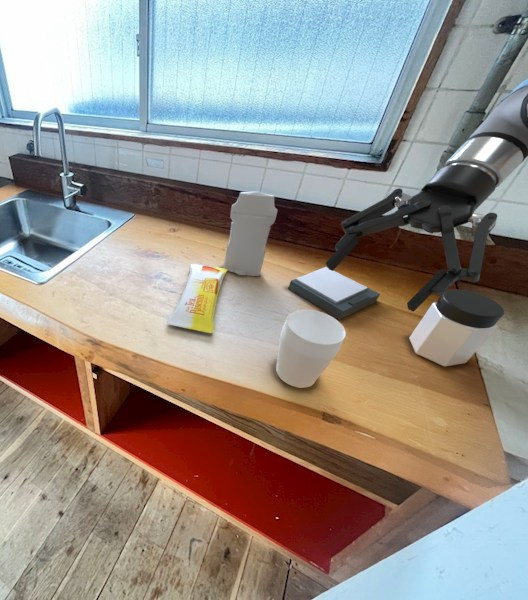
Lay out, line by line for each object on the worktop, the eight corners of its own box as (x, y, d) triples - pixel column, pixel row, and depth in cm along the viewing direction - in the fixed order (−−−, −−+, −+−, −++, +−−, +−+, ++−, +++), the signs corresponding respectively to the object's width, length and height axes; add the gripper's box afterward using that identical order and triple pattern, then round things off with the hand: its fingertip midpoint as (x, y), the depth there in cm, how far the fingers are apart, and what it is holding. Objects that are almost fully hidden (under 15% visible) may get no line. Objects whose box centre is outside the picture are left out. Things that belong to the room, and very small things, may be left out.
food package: (213, 329, 67) (166, 320, 70) (211, 337, 68) (166, 328, 71) (228, 265, 87) (191, 260, 90) (227, 272, 88) (191, 266, 91)
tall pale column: (262, 271, 88) (282, 191, 75) (260, 279, 85) (281, 197, 72) (223, 264, 92) (235, 186, 79) (220, 271, 89) (232, 192, 76)
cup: (328, 372, 60) (353, 323, 52) (311, 403, 55) (336, 354, 47) (280, 349, 65) (297, 302, 58) (260, 375, 60) (276, 327, 52)
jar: (436, 333, 67) (471, 286, 59) (476, 362, 60) (521, 313, 53) (397, 339, 66) (428, 291, 59) (434, 369, 59) (474, 320, 52)
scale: (375, 302, 76) (381, 291, 74) (339, 319, 71) (344, 309, 69) (322, 274, 86) (326, 264, 84) (288, 288, 81) (291, 278, 79)
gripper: (578, 218, 43) (453, 337, 47) (386, 173, 61) (308, 262, 65) (597, 185, 38) (455, 321, 42) (381, 147, 56) (296, 245, 60)
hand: (365, 285), depth 53 cm, fingers open, 13 cm apart
